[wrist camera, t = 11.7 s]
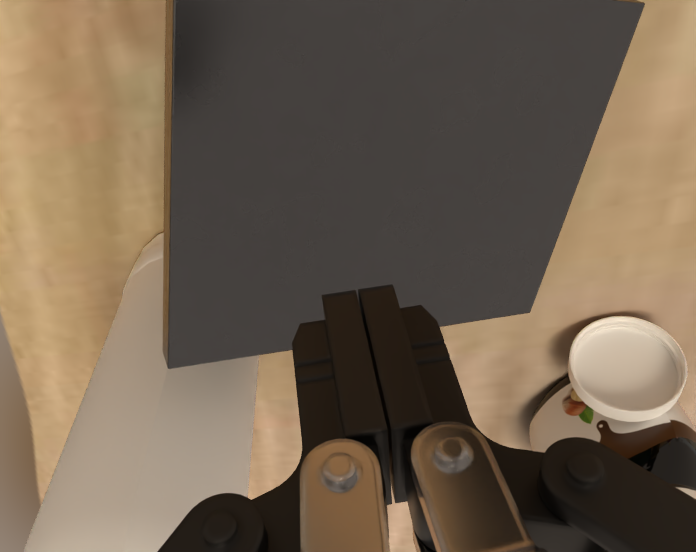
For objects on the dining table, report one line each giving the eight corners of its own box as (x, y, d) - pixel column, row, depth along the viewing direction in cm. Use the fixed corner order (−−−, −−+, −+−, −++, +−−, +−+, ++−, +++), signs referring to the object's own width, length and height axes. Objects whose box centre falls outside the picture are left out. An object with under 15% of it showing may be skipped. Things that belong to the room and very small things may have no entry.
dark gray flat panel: (162, 351, 24) (167, 369, 23) (165, -52, 17) (174, -44, 16) (517, 300, 31) (530, 313, 30) (625, -4, 24) (646, 3, 23)
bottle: (145, 334, 42) (-81, 1051, 17) (120, 225, 38) (-227, 969, 13) (271, 328, 43) (230, 1023, 18) (261, 220, 38) (189, 935, 13)
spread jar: (554, 461, 51) (614, 607, 42) (477, 377, 46) (524, 521, 36) (701, 384, 48) (804, 524, 38) (636, 284, 43) (736, 416, 33)
